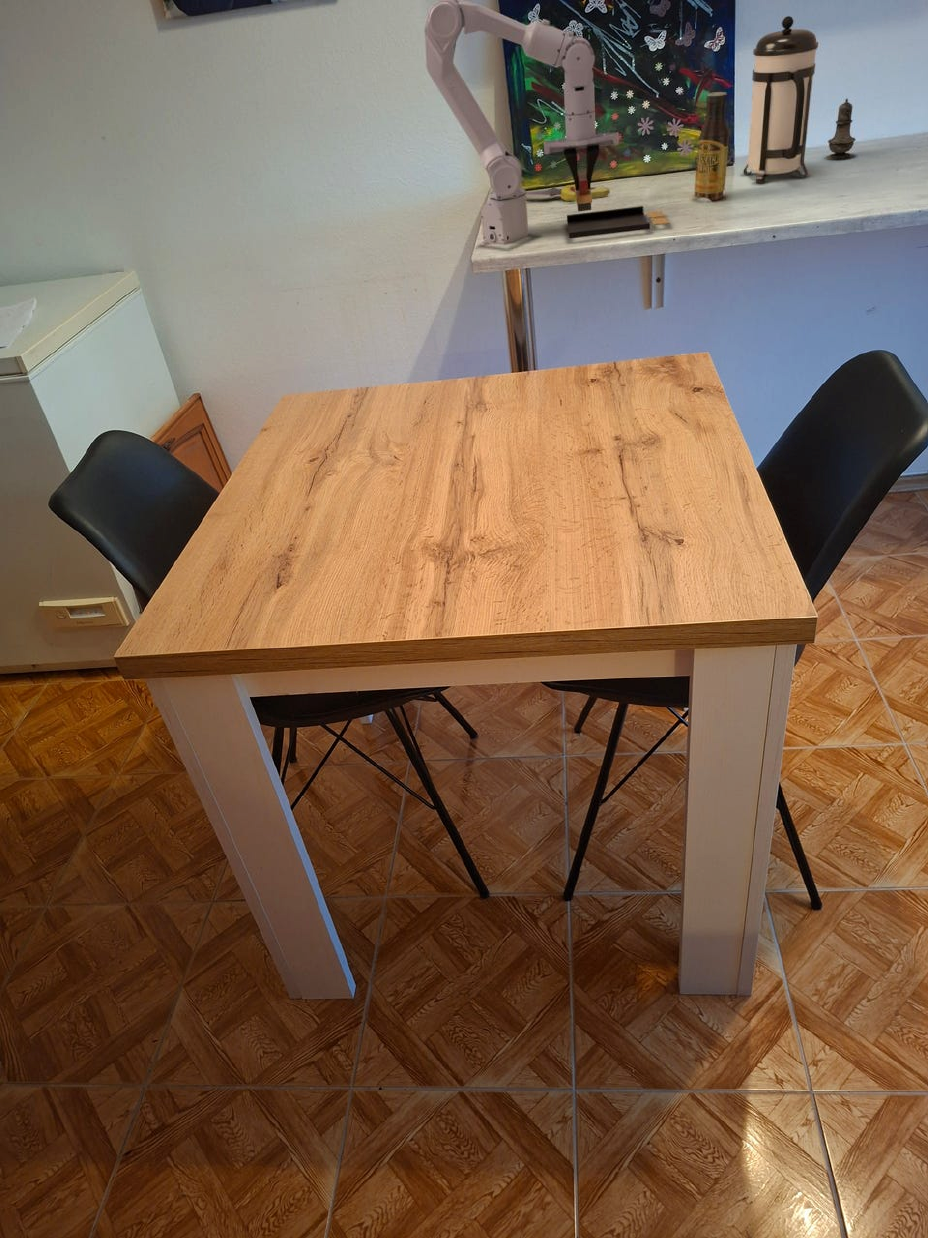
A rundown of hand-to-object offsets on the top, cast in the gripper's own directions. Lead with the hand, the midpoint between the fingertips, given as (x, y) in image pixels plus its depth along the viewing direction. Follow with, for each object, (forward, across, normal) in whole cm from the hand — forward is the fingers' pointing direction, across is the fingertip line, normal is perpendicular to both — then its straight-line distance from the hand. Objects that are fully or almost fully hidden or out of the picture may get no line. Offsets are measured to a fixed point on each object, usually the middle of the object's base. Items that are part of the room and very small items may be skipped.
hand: (582, 188), depth 176 cm
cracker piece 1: (+8, +15, +3) cm, 17 cm away
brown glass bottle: (+8, +28, +14) cm, 32 cm away
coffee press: (+8, +45, +26) cm, 52 cm away
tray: (+8, +5, 0) cm, 10 cm away
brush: (+3, 0, 0) cm, 3 cm away
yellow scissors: (+8, -5, +30) cm, 32 cm away
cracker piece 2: (+8, +15, -3) cm, 17 cm away
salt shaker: (+8, +61, +37) cm, 72 cm away
